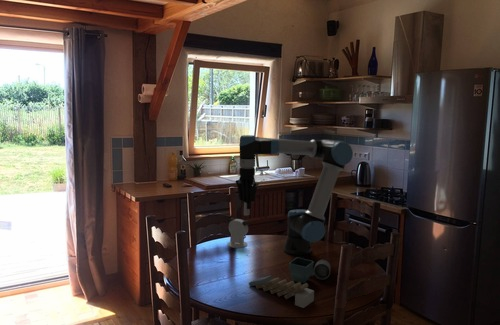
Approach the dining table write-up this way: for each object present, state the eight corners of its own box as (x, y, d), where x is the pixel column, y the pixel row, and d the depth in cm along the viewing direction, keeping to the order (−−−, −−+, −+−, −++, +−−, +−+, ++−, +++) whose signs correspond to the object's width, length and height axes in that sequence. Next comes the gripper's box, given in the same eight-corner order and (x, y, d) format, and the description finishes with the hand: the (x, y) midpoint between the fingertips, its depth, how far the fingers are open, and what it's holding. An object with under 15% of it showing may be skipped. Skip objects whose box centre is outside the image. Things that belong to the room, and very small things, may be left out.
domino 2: (255, 285, 179) (272, 281, 173) (262, 281, 183) (278, 277, 177) (256, 288, 179) (273, 284, 173) (263, 285, 183) (280, 280, 177)
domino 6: (283, 296, 170) (300, 286, 164) (290, 292, 174) (306, 282, 168) (285, 299, 169) (302, 290, 164) (292, 295, 173) (308, 286, 167)
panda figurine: (252, 243, 238) (252, 218, 236) (241, 249, 228) (241, 223, 226) (234, 240, 244) (235, 215, 242) (223, 245, 234) (224, 220, 232)
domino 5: (276, 293, 172) (293, 285, 166) (283, 289, 176) (300, 281, 170) (278, 296, 171) (295, 289, 166) (285, 292, 175) (301, 285, 169)
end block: (294, 304, 165) (295, 294, 164) (305, 298, 171) (305, 287, 170) (303, 308, 162) (303, 297, 162) (313, 300, 168) (314, 290, 168)
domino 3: (262, 288, 177) (279, 282, 171) (269, 284, 180) (286, 279, 174) (264, 291, 176) (280, 286, 170) (270, 287, 180) (287, 282, 174)
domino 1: (248, 282, 181) (264, 278, 175) (255, 279, 185) (271, 275, 179) (249, 286, 181) (266, 282, 175) (256, 282, 185) (272, 278, 179)
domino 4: (269, 290, 174) (286, 284, 168) (276, 286, 178) (293, 280, 172) (271, 294, 174) (288, 288, 168) (278, 290, 178) (294, 284, 172)
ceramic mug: (330, 273, 196) (331, 258, 195) (330, 280, 188) (330, 264, 187) (308, 271, 199) (308, 256, 198) (306, 278, 191) (307, 262, 190)
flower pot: (305, 286, 182) (306, 267, 181) (288, 281, 187) (288, 262, 185) (313, 279, 189) (314, 260, 188) (296, 275, 194) (296, 257, 193)
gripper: (231, 166, 198) (231, 214, 201) (252, 169, 190) (252, 218, 193) (241, 165, 204) (241, 211, 207) (262, 167, 196) (261, 215, 199)
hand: (246, 214), depth 200 cm, fingers closed
